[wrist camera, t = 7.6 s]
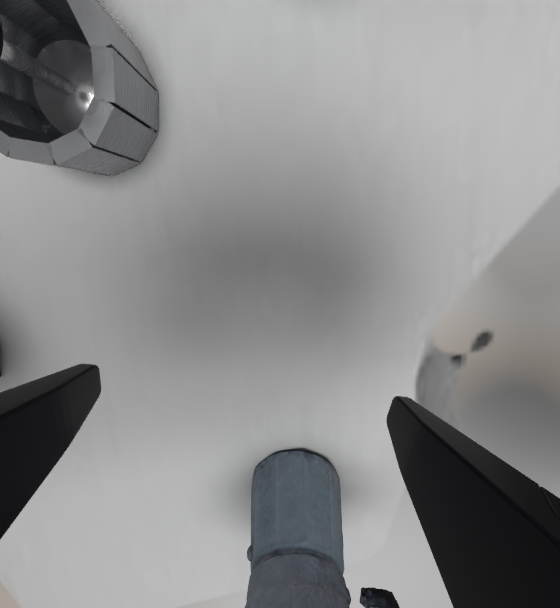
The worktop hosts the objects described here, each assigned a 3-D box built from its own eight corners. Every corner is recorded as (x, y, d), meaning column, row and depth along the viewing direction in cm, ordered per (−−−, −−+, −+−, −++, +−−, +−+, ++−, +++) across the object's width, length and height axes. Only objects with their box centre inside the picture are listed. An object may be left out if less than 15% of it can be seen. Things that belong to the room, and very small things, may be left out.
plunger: (45, 136, 16) (-167, 69, 8) (33, 36, 15) (-243, -160, 7) (127, 149, 17) (-3, 98, 9) (124, 54, 15) (-39, -114, 7)
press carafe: (30, 163, 17) (-60, 146, 13) (-3, -66, 14) (-144, -205, 9) (158, 183, 18) (118, 175, 13) (158, -31, 15) (103, -144, 10)
